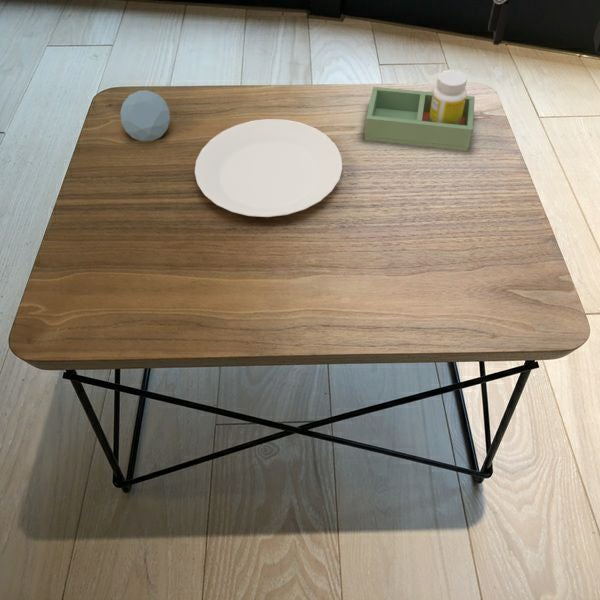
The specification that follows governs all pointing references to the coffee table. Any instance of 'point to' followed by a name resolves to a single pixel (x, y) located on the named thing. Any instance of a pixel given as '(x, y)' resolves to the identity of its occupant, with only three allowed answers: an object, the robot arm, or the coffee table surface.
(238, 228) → the coffee table surface
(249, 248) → the coffee table surface
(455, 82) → the supplement bottle
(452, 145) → the holder
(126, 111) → the gemstone
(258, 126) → the plate
